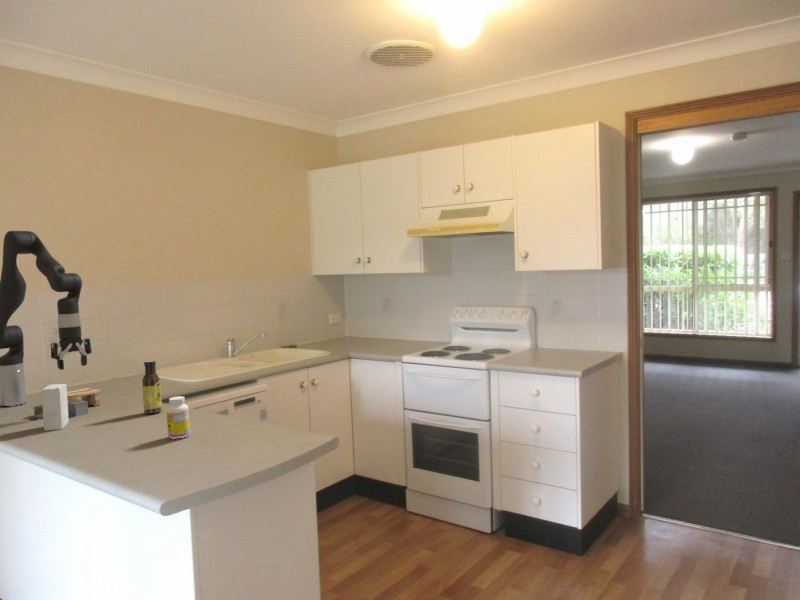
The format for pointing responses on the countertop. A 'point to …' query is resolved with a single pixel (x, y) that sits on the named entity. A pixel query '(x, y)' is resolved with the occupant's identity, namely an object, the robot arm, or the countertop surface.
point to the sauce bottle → (151, 389)
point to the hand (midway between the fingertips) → (72, 367)
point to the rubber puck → (37, 416)
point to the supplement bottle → (178, 418)
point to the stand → (85, 395)
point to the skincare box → (55, 406)
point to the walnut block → (38, 409)
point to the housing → (77, 407)
